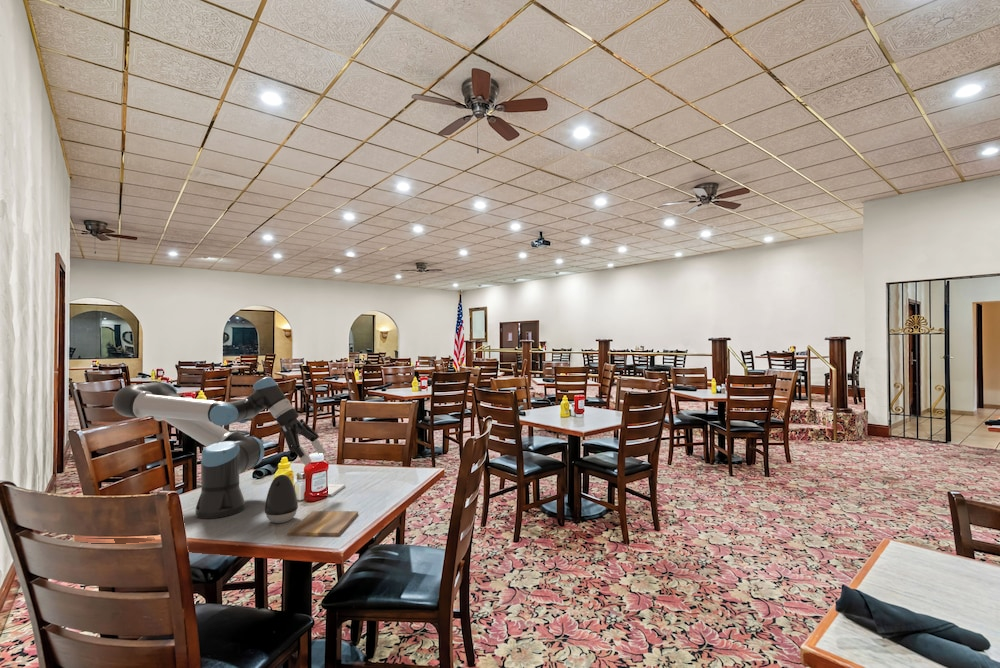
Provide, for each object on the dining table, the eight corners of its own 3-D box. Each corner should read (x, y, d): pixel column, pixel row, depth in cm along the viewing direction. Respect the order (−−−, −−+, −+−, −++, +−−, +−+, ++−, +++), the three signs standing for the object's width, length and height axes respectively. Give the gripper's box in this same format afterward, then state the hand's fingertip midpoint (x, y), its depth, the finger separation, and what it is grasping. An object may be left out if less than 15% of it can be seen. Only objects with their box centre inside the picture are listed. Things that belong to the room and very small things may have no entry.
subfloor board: (287, 535, 147) (287, 532, 147) (312, 513, 165) (312, 510, 165) (338, 536, 146) (338, 532, 146) (357, 514, 164) (357, 511, 164)
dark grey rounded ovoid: (258, 526, 154) (258, 480, 154) (272, 514, 164) (272, 471, 164) (290, 526, 154) (290, 479, 154) (302, 514, 164) (302, 470, 165)
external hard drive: (311, 497, 183) (326, 487, 196) (331, 498, 182) (345, 487, 195) (311, 493, 183) (326, 483, 196) (331, 494, 182) (345, 483, 195)
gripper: (275, 412, 168) (310, 461, 168) (306, 403, 193) (336, 445, 193) (258, 424, 169) (293, 473, 168) (291, 413, 193) (321, 456, 193)
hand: (316, 458), depth 180 cm, fingers open, 13 cm apart
